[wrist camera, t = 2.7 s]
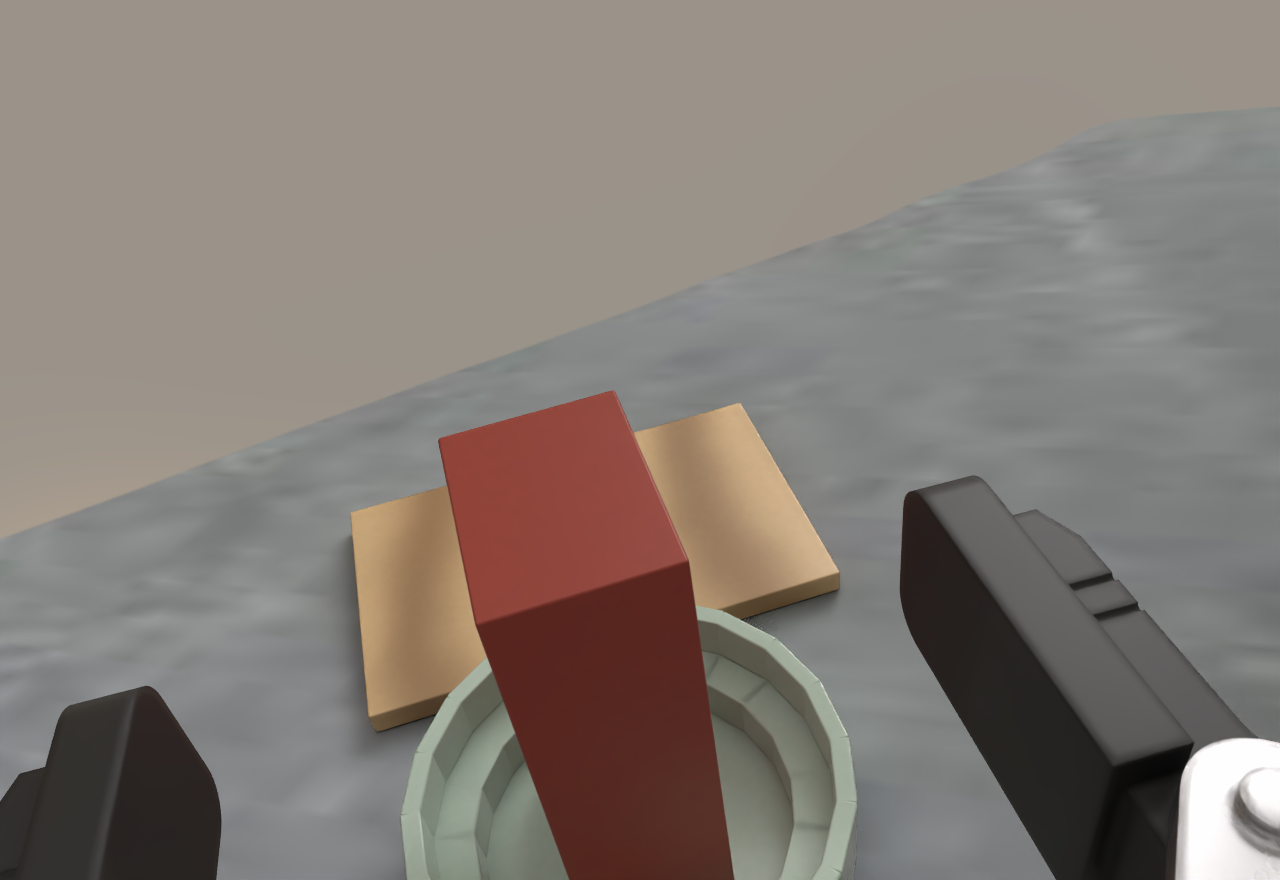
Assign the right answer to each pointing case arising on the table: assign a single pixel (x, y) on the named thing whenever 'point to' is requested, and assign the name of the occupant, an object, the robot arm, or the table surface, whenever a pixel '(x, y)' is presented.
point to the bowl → (747, 759)
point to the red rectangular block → (592, 639)
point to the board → (699, 509)
